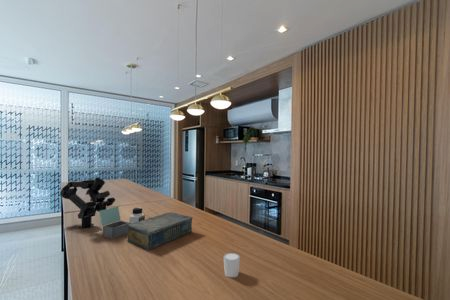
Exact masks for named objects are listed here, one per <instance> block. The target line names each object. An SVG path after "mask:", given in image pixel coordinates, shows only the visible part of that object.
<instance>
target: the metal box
mask: <svg viewBox="0 0 450 300" xmlns="http://www.w3.org/2000/svg"><path fill="white" fill-rule="evenodd" d="M192 223H193V217H192V216H188V215H184V214H180V213H177V212H173V211H170V212H165V213H162V214H160V215H156V216H150V217H148V218H147V219H145V220H143V221H138V222H134V223H131V224H129V225H128V234H127V240H126V241H127V242H128V243H130V244H133V245H136V246H138V247H139V246H140V247H141V248H142V249H145V250H147V251H151V250H153V249H154V250H155V249H156V248H158V247H161V246H163V245H165V244H167V243H170V242H172V241H175V240H177V239H179V238H181V237H183V236H186V235H189V234H190V233H192V232H193V230H192V227H193V226H192Z"/></svg>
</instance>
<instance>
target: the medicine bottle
mask: <svg viewBox="0 0 450 300" xmlns="http://www.w3.org/2000/svg"><path fill="white" fill-rule="evenodd" d="M145 218H146V214H144V213H143V208H142V207H134V208H133V209H132V215H130V216H129V222H130V223H134V222H138V221H143V220H146V219H145Z"/></svg>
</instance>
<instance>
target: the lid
mask: <svg viewBox="0 0 450 300" xmlns="http://www.w3.org/2000/svg"><path fill="white" fill-rule="evenodd" d="M98 213H99V218H100V223H101V226H102V227H103V226H105V225H108V224H112V223H115V222H118V221H122V220H121V215H120V210H119V206H113V207H110V208H106V209H105V210H101V211H99V212H98Z"/></svg>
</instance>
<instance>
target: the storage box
mask: <svg viewBox="0 0 450 300" xmlns="http://www.w3.org/2000/svg"><path fill="white" fill-rule="evenodd" d="M129 224H131V223H130V221H124V220H120V221H117V222H113V223H110V224H107V225H104V226H102V237H104V238H107V239H112V240H114V239H117V238H119V237H122V236H124V235H128V225H129Z"/></svg>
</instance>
